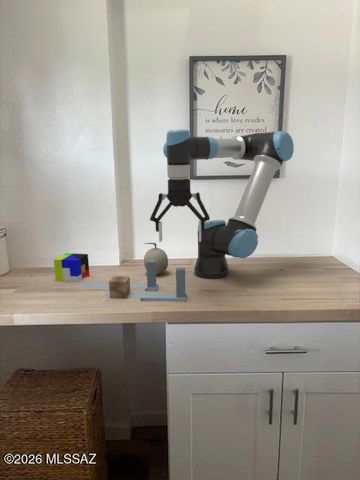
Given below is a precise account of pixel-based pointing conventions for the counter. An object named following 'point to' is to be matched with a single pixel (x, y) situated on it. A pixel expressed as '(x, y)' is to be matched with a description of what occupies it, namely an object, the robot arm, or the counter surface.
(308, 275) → the counter surface
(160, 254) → the fruit
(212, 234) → the robot arm
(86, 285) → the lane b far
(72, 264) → the puzzle toy
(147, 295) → the strip
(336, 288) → the counter surface
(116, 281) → the cube
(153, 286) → the lane
